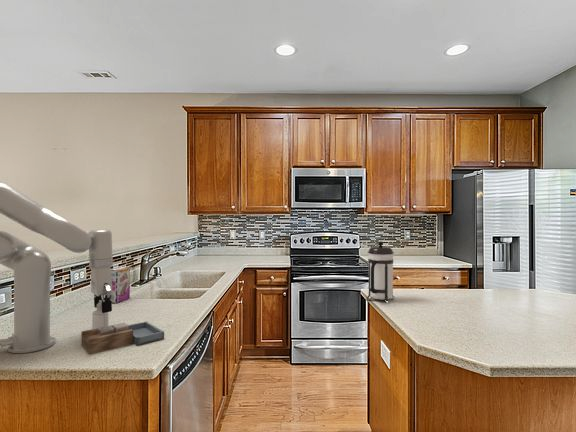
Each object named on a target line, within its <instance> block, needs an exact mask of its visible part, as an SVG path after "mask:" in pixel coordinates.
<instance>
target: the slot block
mask: <svg viewBox="0 0 576 432" xmlns="http://www.w3.org/2000/svg"><path fill="white" fill-rule="evenodd" d="M112 325H113V324H112ZM112 325H111V324H110V326H112ZM80 332H81V335H80V336H81V338H80V339H81V341H80V343H81V346H82V348H83V349H84V350H85V351H86V352H87V353H88V355H93V354H97V353H100V352H101V353H102V352H105V351H109V350H112V349H113V350H114V349H118V348H121V347H125V346H129V345H133V344H134V343H133V330H132V329H130V330H126V331H121V332H117V333H112V334H107V335H103V336H97V328H96V329H92V328H91V329H88V330H83V331H82V330H81V331H80Z"/></svg>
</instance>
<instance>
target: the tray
mask: <svg viewBox="0 0 576 432" xmlns="http://www.w3.org/2000/svg"><path fill="white" fill-rule="evenodd" d="M127 325H128V330H130V329H132V330H133V344H134V345H136V346H141V345H145V344H146V345H147V344H149V343H153V342H157V341H161V340H165V331H163V330H162V329H160V328H158V327H157V326H155V325H153V324H152V323H150V322H148V321H142V322H138V323H133V324H127Z"/></svg>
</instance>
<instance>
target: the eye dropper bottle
mask: <svg viewBox="0 0 576 432" xmlns="http://www.w3.org/2000/svg"><path fill="white" fill-rule="evenodd" d="M101 302H102V300H99V303H98V304H97V308H96V310H94V311H93V312H92V315H91V316H92V318H91V325H92V327H91V329H96V328H101V327H106V326H109V312H106V313H102V303H101Z"/></svg>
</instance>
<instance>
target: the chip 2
mask: <svg viewBox="0 0 576 432" xmlns="http://www.w3.org/2000/svg"><path fill="white" fill-rule="evenodd" d="M128 325H129V324H127V323H126V322H121V323H116V324H112V327H113V328H114V333H117V332H121V331H126V330H128Z"/></svg>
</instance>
